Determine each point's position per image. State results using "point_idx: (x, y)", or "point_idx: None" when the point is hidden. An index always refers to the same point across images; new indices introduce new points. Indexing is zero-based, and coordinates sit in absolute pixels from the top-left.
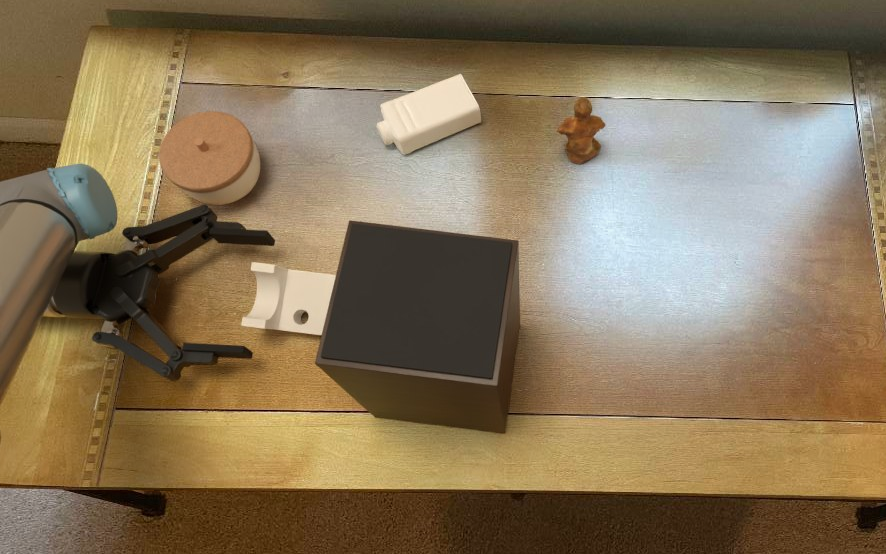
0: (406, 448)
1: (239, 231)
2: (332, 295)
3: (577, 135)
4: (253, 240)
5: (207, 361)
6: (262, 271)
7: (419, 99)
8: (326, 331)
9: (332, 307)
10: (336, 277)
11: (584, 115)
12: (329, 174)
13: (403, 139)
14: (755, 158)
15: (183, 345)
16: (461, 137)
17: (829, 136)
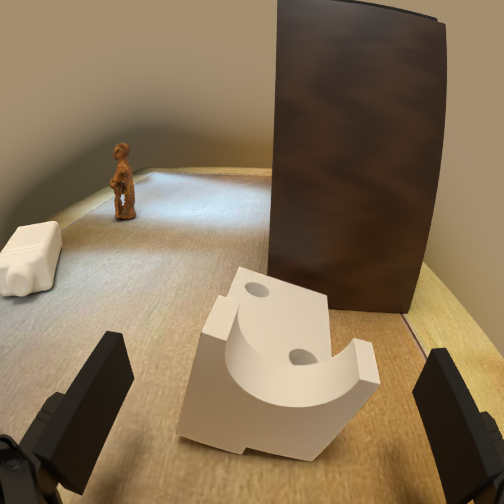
0: (422, 292)
1: (79, 383)
2: (373, 7)
3: (129, 176)
4: (112, 386)
5: (491, 417)
6: (233, 318)
7: (15, 243)
8: (412, 12)
9: (387, 6)
10: (351, 3)
11: (128, 149)
12: (23, 354)
13: (45, 253)
14: (167, 185)
15: (493, 473)
16: (64, 258)
17: (165, 176)
